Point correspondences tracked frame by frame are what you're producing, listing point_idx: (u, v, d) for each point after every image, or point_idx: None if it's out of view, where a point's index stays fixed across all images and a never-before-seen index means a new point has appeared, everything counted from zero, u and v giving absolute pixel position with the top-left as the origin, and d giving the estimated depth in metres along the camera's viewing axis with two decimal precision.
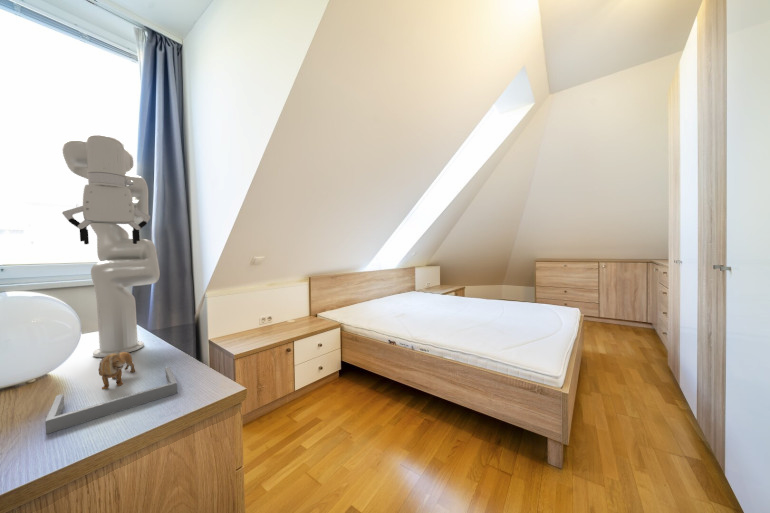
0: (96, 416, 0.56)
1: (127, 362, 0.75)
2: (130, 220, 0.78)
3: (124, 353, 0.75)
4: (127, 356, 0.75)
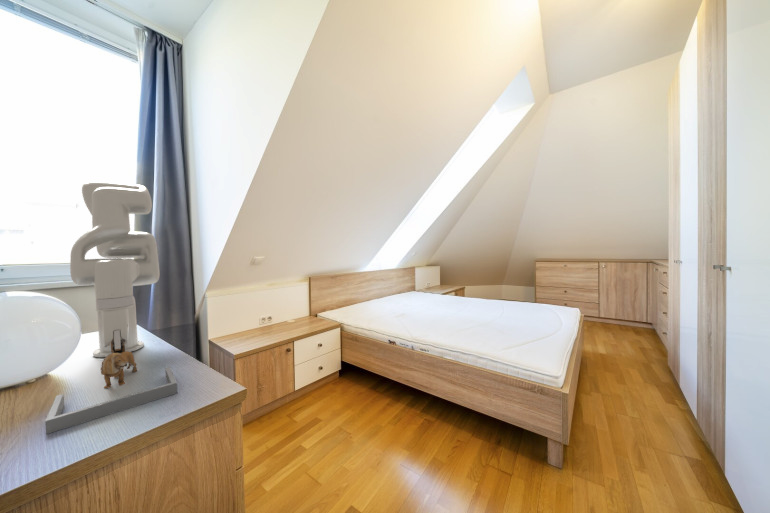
0: (96, 416, 0.56)
1: (129, 361, 0.76)
2: None
3: (126, 352, 0.75)
4: (129, 355, 0.75)
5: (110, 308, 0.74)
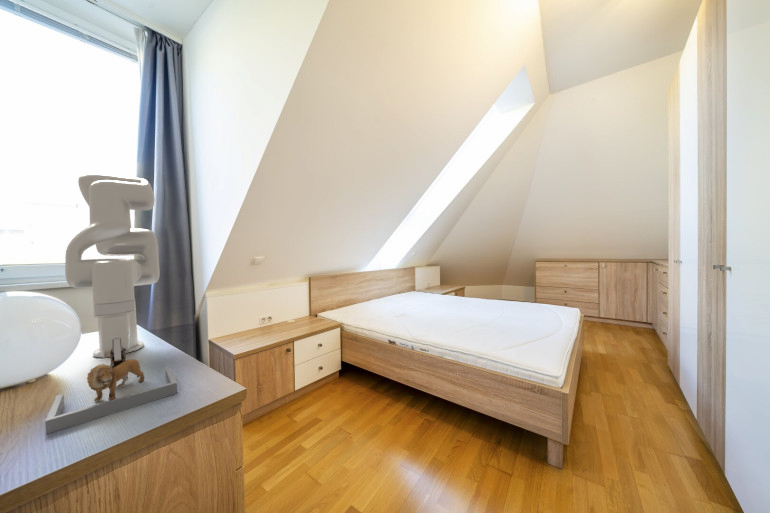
0: (96, 416, 0.56)
1: (132, 372, 0.69)
2: None
3: (129, 361, 0.69)
4: (132, 365, 0.69)
5: (109, 314, 0.67)
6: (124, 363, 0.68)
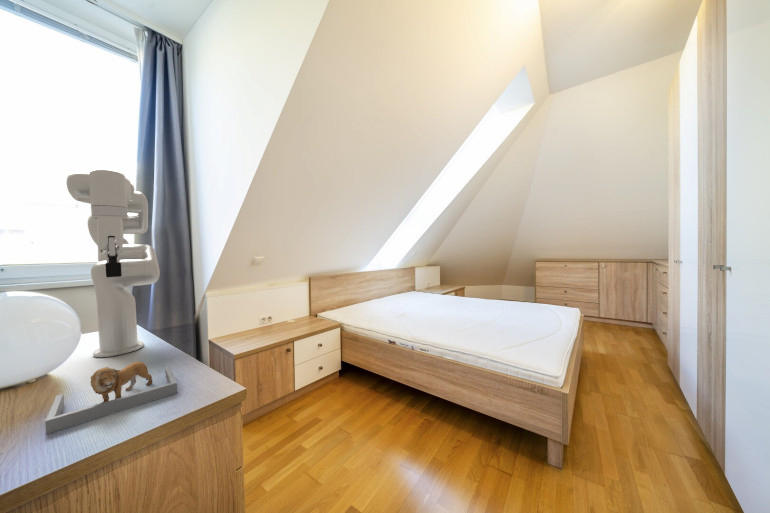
0: (96, 416, 0.56)
1: (138, 374, 0.68)
2: None
3: (135, 364, 0.67)
4: (138, 368, 0.67)
5: (105, 215, 0.76)
6: (130, 366, 0.67)
